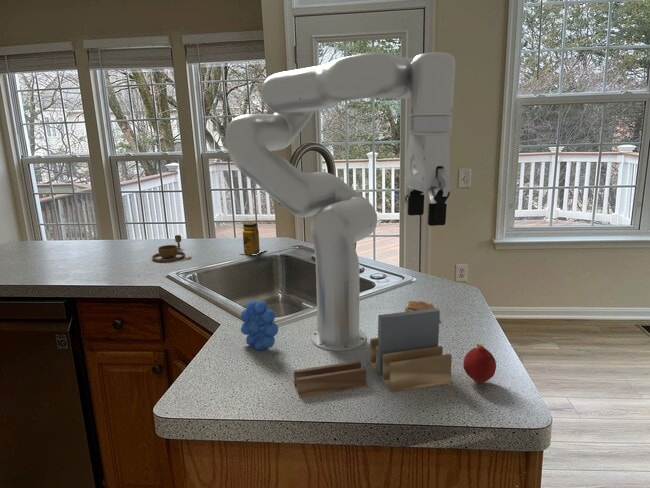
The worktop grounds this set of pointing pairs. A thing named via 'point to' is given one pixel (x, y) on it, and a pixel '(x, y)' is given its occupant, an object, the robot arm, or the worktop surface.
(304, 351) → the worktop surface
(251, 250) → the condiment
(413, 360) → the rack
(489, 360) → the onion
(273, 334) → the grapes
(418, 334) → the plate
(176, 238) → the place setting
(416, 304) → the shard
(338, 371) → the plate stand
